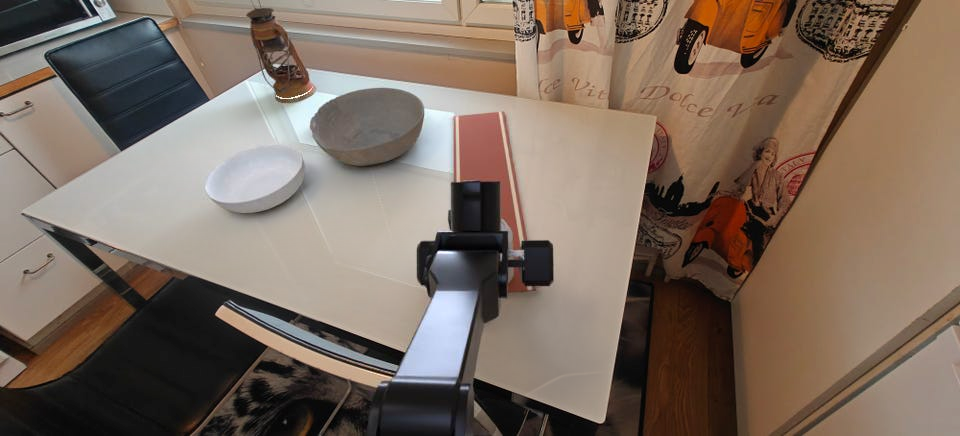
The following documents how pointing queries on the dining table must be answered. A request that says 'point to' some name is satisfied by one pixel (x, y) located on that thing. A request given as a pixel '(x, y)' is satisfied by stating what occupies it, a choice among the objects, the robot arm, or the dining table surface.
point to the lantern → (289, 76)
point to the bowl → (368, 125)
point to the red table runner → (491, 170)
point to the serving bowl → (256, 178)
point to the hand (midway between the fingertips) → (489, 257)
